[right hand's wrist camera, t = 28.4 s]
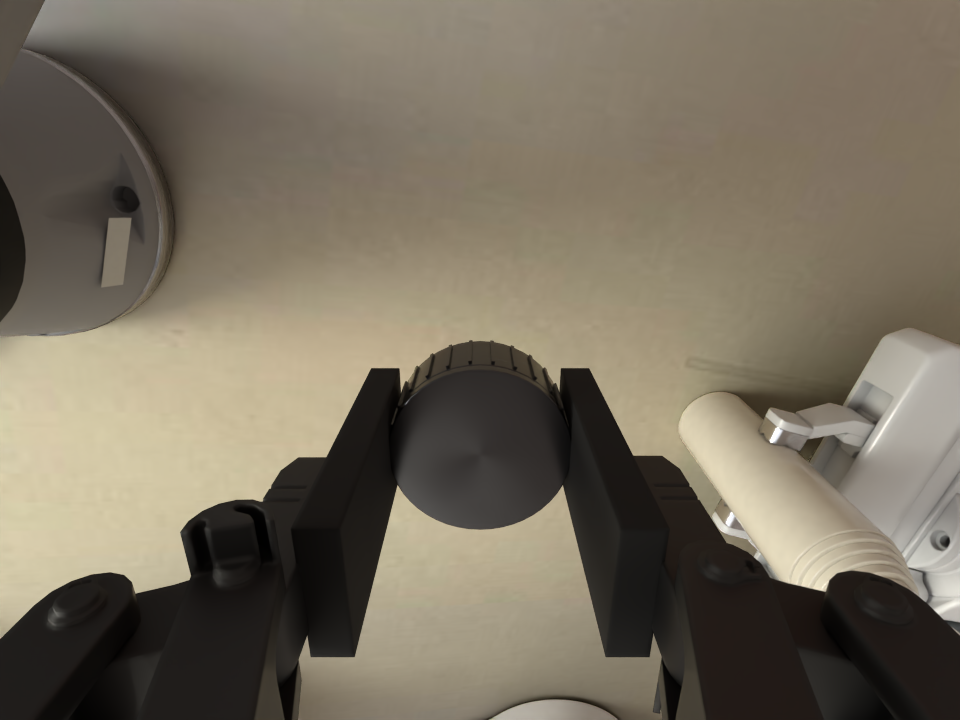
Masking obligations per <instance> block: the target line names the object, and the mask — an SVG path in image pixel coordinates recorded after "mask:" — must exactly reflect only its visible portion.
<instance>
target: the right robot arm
mask: <svg viewBox="0 0 960 720" xmlns="http://www.w3.org/2000/svg"><path fill="white" fill-rule="evenodd" d="M44 1H45V0H0V337H9V336H24V335H27V336H61V335H69V334H74V333H79V332H85V331H88V330H92V329H95V328H98V327H100V326H103V325H105V324H107V323H110V322H112V321H114V320H116V319H118V318H120V317H122V316H124V315H126V314H128V313H130V312H131V311H133V310H134V309H135V308H137V307H138V306H140V305H141V304H142V303H143V302H144V301H145V300H146V299H147V298H148V297H149V296H150V295H151V294H152V292H153V291H154V290H155V289H156V287H157V285H158V284H159V282H160V281H161V279H162V277H163V275H164V273H165V271H166V268H167V265H168V262H169V260H170V255H171V251H172V246H173V237H174V219H173V208H172V203H171V197H170V193H169V189H168V186H167V182H166V179H165V177H164V174H163V171H162V169H161V166H160V164H159V162H158V160H157V158H156V156H155V154H154V152H153V150H152V148H151V147H150V145H149V143H148V141H147V140H146V138H145V137H144V135H143V134H142V132H141V131H140V129H139V128H138V127H137V125H136V124H135V123H134V122H133V120H132V119H131V118H130V117H129V115H128V114H127V113H126V112H125V111H124V110H123V109H122V108H121V107H120V105H119V104H118V103H117V102H116V101H115V100H114V99H113V98H111V97H110V96H109V95H108V94H107V93H106V92H105V91H104V90H103V89H101V88H100V87H99V86H97V85H96V84H95V83H94V82H92V81H91V80H90V79H88V78H87V77H85V76H84V75H82V74H81V73H79V72H78V71H76V70H74V69H72V68H71V67H69V66H67V65H65V64H63V63H61V62H59V61H57V60H55V59H52V58H50V57H48V56H45V55H42V54H39V53H36V52H34V51H30V50H26V49H22V46H23V44H24V42H25V40H26V38H27V35H28V33H29V31H30V29H31V27H32V25H33V23H34V21H35V19H36V17H37V15H38V13H39V11H40V9H41V7H42V5H43V3H44ZM400 395H401V387H400V370H399V368H371V370H370V372H369V374H368V376H367V378H366V380H365V382H364V384H363V386H362V388H361V390H360V392H359V394H358V396H357V398H356V400H355V402H354V404H353V406H352V408H351V410H350V412H349V414H348V416H347V418H346V420H345V422H344V424H343V426H342V428H341V430H340V432H339V434H338V436H337V437H336V439H335V441H334V443H333V445H332V447H331V449H330V451H329V453H328V455H327V457H298V458H297V459H296V460H294V461H293V462H292V463H290V464H289V465H288V466H286V467H285V468H284V469H282V470H281V471H280V473H279V474H278V476H277V478H276V479H275V481H274V482H273V484H272V486H271V489H269V490H268V492H267V494H266V495H265V497H264V498H263V502H259V501H256V500H234V501H229V502H225V503H221V504H218V505H215V506H213V507H211V508H208V509H206V510H204V511H202V512H201V513H199V514H198V515H196V516H195V517H194V518H192V519H191V520H189V521H188V523H187V524H186V525H185V527H184V528H183V529H182V531H181V532H180V533H181V537H182V541H183V545H184V549H185V553H186V557H187V561H188V565H189V569H190V573H191V578H190V580H189V581H185V582H182V583H179V584H175V585H171V586H167V587H163V588H158V589H154V590H150V591H145V592H141V593H137V594H135V591H134V588H133V585H132V582H131V581H130V580H129V579H128V578H127V577H126V576H124V575H121V574H116V573H101V574H93V575H89V576H86V577H83V578H80V579H77V580H74V581H71V582H69V583H67V584H65V585H64V586H62V587H60V588H58V589H56V590H54V591H52V592H51V593H49V594H48V595H47V596H46V597H44V598H43V599H42V600H41V601H39V602H38V603H37V604H36V605H34V606H33V607H32V608H31V609H30V610H29V611H28V612H27V613H26V614H25V615H24V616H23V617H22V618H21V619H20V620H19V621H18V622H17V623H16V624H15V625H14V626H13V627H12V628H11V629H10V630H9V631H8V632H7V633H6V634H5V635H4V636H3V637H2V638H1V639H0V720H298V713H299V702H300V692H301V682H302V680H301V672H300V666H299V660H298V659H299V656H300V654H301V651H302V648H303V645H304V643H305V640H306V637H307V636H308V642H309V648H310V655H311V657H355V653H356V649H357V645H358V641H359V637H360V633H361V629H362V625H363V621H364V617H365V613H366V609H367V605H368V601H369V597H370V593H371V589H372V585H373V581H374V577H375V573H376V569H377V565H378V561H379V557H380V553H381V549H382V545H383V541H384V537H385V533H386V529H387V525H388V521H389V517H390V513H391V509H392V504H393V500H394V496H395V492H396V488H397V482H396V480H395V478H394V476H393V473H392V470H391V463H390V449H389V436H390V431H391V428H392V427H391V423H392V420H393V417H394V414H395V411H396V408H397V404H398V401H399V398H400ZM560 396H561V399H562V402H563V405H564V408H565V410H564V412H565V415H566V418H567V422H568V425H569V430H570V433H571V455H570V467H569V471H568V475H567V477H566V479H565V481H564V483H563V487H564V491H565V495H566V499H567V503H568V507H569V511H570V515H571V519H572V523H573V527H574V531H575V535H576V539H577V543H578V547H579V551H580V555H581V559H582V563H583V567H584V571H585V575H586V580H587V584H588V588H589V592H590V596H591V600H592V604H593V608H594V612H595V616H596V620H597V624H598V628H599V632H600V636H601V640H602V644H603V648H604V652H605V656H606V657H650V651H651V644H652V638H653V633H654V636H655V639H656V642H657V644H658V647H659V650H660V653H661V656H662V660H661V666H660V672H659V677H658V683H657V689H656V695H655V701H654V708H653V712H655V713H660V710H661V712H662V720H960V635H959V634H958V633H957V632H956V631H955V630H954V629H953V628H952V627H951V626H950V625H949V624H948V623H947V622H946V621H945V620H944V619H943V618H942V617H941V616H940V615H939V614H938V613H937V612H936V611H935V610H934V609H932V608H931V607H930V606H929V605H928V604H927V603H926V602H925V601H924V600H922V599H921V598H920V597H919V596H917V595H916V594H915V593H914V592H912V591H911V590H909V589H908V588H906V587H904V586H902V585H900V584H898V583H896V582H894V581H892V580H891V579H888V578H885V577H882V576H879V575H876V574H873V573H870V572H861V571H853V570H850V571H845V572H839V573H837V574H835V575H834V576H833V577H832V578H831V579H830V580H829V583H828V586H827V589H826V592H824V591H820V590H816V589H811V588H807V587H803V586H798V585H794V584H790V583H786V582H782V581H779V580H776V579H773V578H770V577H769V575H768V573H767V572H766V570H765V568H764V567H763V565H762V564H761V563H760V562H759V561H758V560H757V559H755V558H754V557H753V556H752V555H750V554H749V553H748V552H746V551H744V550H742V549H740V548H738V547H736V546H734V545H731V544H727V543H726V541H725V540H724V538H723V537H722V535H721V533H720V532H719V530H718V529H717V527H716V526H715V524H714V522H713V521H712V519H711V518H710V516H709V514H708V513H707V511H706V510H705V508H704V506H703V505H702V503H701V502H700V500H698V499H697V495H696V494H695V492H694V491H693V489H692V487H689V483H688V481H687V480H686V478H685V476H684V475H683V473H682V472H681V470H680V469H679V468H678V467H676V466H675V465H674V464H672V463H671V462H670V461H668V460H667V459H666V458H664V457H663V456H633V455H632V453H631V451H630V449H629V447H628V445H627V443H626V441H625V439H624V437H623V435H622V433H621V431H620V429H619V427H618V425H617V423H616V421H615V419H614V417H613V415H612V413H611V411H610V409H609V407H608V405H607V403H606V401H605V399H604V397H603V395H602V393H601V391H600V389H599V387H598V385H597V383H596V381H595V379H594V377H593V375H592V373H591V371H590V369H589V368H561V376H560Z"/></svg>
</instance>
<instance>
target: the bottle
mask: <svg viewBox="0 0 960 720" xmlns="http://www.w3.org/2000/svg"><path fill="white" fill-rule="evenodd" d="M762 422H763V419H762V418H761V417H760V416H759V415H758V414H757V413H756V412H755V411H754V410H753V409H752V408H751V407H749V406H748V405H747V404H746V403H745V402H744V401H743V400H742V399H741V398H739V397H738V396H736V395H734V394H731V393H727V392H713V393H708V394H705V395H703V396H701V397H699V398H697V399H696V400H694V401H693V402H692V403H690V404H689V405H688V407H687V408H686V409H685V410H684V412H683V414H682V415H681V418H680V421H679V428H678V429H679V435H680V438H681V440H682V442H683V444H684V445H685V446H686V448H687V449H688V451H689V452H690V454H691V455H692V456H693V458H694V459H695V461H696V462H697V463H698V465H699V466H700V468H701V469H702V471H703V472H704V473H705V475H706V476H707V478H708V479H709V481H710V482H711V483H712V485H713V486H714V488H715V489H716V490H717V492H718V493H719V495H720V496H721V498H722V499H723V500H724V502H725V503H726V505H727V506H728V508H729V509H730V510H731V512H732V513H733V515H734V516H735V518H736V519H737V520H738V522H739V523H740V525H741V526H742V527H743V529H744V530H745V532H746V533H747V535H748V536H749V537H750V539H751V540H752V542H753V543H754V545H755V546H756V547H757V549H758V550H759V552H760V553H761V555H762V556H763V557H764V559H765V560H766V562H767V563H768V564H769V566H770V567H771V569H772V570H773V572H774V573H775V574H776V576H777V577H778V579H779V580H780V581H782V582H786V583H790V584H794V585H798V586H803V587H807V588H811V589H816V590H820V591H824V592H826V589H827V586H828V583H829V580H830V579H831V578H832V577H833V576H834V575H835V574H837V573H839V572H845V571H850V570H853V571H861V572H870V573H873V574H876V575H879V576H882V577H885V578H888V579H891V580H892V581H894V582H896V583H898V584H900V585H902V586H904V587H906V588H908V589H909V590H911V591H912V592H914V593H915V594H916V595H917V596H919V592H918V588H917V586H916V584H915V583H914V580H913V577H912V575H911V574H910V571H909V568H908V566H907V564H906V562H905V559H904V557H903V555H902V553H901V552H900V551H899V550H898V548H897V546H896V545H895V544H894V542H893V541H892V540H891V539H890V538H889V537H888V536H886V535H885V534H884V533H883V532H882V531H881V530H880V529H879V528H878V527H877V526H876V525H875V524H874V523H873V522H872V521H871V520H869V519H868V518H867V517H866V516H865V515H864V514H863V513H862V512H861V511H860V510H859V509H858V508H857V507H856V506H855V505H854V504H852V503H851V502H850V501H849V500H848V499H847V498H846V497H845V496H844V495H843V494H842V493H841V492H840V491H839V490H838V489H837V488H835V487H834V486H833V485H832V484H831V483H830V482H829V481H828V480H827V479H826V478H825V477H824V476H823V475H822V474H821V473H820V472H818V471H817V470H816V469H815V468H814V467H813V466H812V465H811V464H810V463H809V462H808V461H807V460H806V459H805V458H804V457H803V456H801V455H800V454H799V453H798V452H797V451H796V450H793V449H790V448H788V447H787V446H777V445H775V444H773V443H771V442H769V441H768V440H766V439H765V437H764V435H763V434H760V432H759V431H758V430H759V428H760V426H761V424H762ZM919 597H920V596H919ZM920 598H921V597H920ZM921 599H922V598H921ZM922 600H923V599H922ZM953 629H954V628H953ZM954 630H955V629H954ZM955 631H956V630H955ZM956 632H957V633H958V634H959V635H960V633H959V632H958V631H956Z"/></svg>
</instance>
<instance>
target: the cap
mask: <svg viewBox="0 0 960 720" xmlns="http://www.w3.org/2000/svg"><path fill="white" fill-rule="evenodd" d="M564 410H565V408H564V405H563V402H562V399H561V396H560V393H559V390H558V387H557V384H556V383H555V384H554V383H553V381H552V380H551V378H550V377H549V375H548V372H547V369H546V368H545V367H544V368H542V367H541V365H540V364H538V363H537V362H536V361H535V360H534V359H533V358H532V356H531V355H529V356H528V355H527V354H525V353H523V352H522V351H519V350H517V349H515V348H514V346H512V345H511V347H510V346H507V345H504V344H500V343H495V342H494V341H490V342H485V341H476V342H473V341H472V340H470V341H469V342H466V343H461V344H457V345H453V346H452V345H449V347H447V348H445V349H443V350H441V351H439V352H437V353H435V354H433V353H432V354H431V355H430V357H429V358H428V359H427V360H425V361H424V362H423V363H422V364H421V365H420V366H419V367H418V366H416V367H415V370H414V373H413V374H412V376H411V377H410V379H409V380H408V382H407V381H405V383H404V386H403V389H402V392H401V395H400V398H399V401H398V404H397V408H396V411H395V414H394V417H393V420H392V423H391V427H392V428H391V431H390V436H389V449H390V463H391V470H392V473H393V476H394V478H395V480H396V482H397V484H398V486H399V488H400V489H401V491H402V492H403V494H404V495H405V496H406V497H407V498H408V499H409V501H410V502H411V503H413V504H414V505H415V506H416V507H417V508H418V509H420V510H421V511H422V512H424V513H425V514H427V515H428V516H430V517H432V518H434V519H436V520H438V521H440V522H443V523H445V524H448V525H452V526H456V527H460V528H466V529H479V530H480V529H494V528H500V527H505V526H508V525H512V524H515V523H517V522H520V521H523V520H525V519H527V518H528V517H530V516H532V515H534V514H535V513H537V512H538V511H540V510H541V509H542V508H543V507H545V506H546V505H547V504H548V503H549V502H550V501H551V500H552V499H553V498H554V496H555V495H556V494H557V493H558V491H559V490H560V488H561V487H562V485H563V483H564V481H565V479H566V477H567V475H568V471H569V467H570V455H571V433H570V430H569V425H568V422H567V418H566V415H565V412H564Z"/></svg>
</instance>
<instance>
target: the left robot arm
mask: <svg viewBox="0 0 960 720" xmlns="http://www.w3.org/2000/svg"><path fill="white" fill-rule="evenodd" d="M758 431H759V432H760V434H763V435H764V437H765V439H766V440H768V441H769V442H771V443H773V444H775V445H777V446H787V447H788V448H790V449H793V450H797V451H801V449H802V448H803V446H804V444H805V443H806V441H807V439H813V438H819V437H824V438H823V440H822V441H821V443H820V445H819V446H818V448H817V450H816V452H815V453H814V455H813V457H812V458H811V460H810V462H809V463H810V464H811V465H812V466H813V467H814V468H815V469H816V470H817V471H818V472H820V473H821V474H822V475H823V476H824V477H825V478H826V479H827V480H828V481H829V482H830V483H831V484H832V485H833V486H834V487H835V488H837V489H838V490H839V491H840V492H841V493H842V494H843V495H844V496H845V497H846V498H847V499H848V500H849V501H850V502H851V503H852V504H854V505H855V506H856V507H857V508H858V509H859V510H860V511H861V512H862V513H863V514H864V515H865V516H866V517H867V518H868V519H869V520H871V521H872V522H873V523H874V524H875V525H876V526H877V527H878V528H879V529H880V530H881V531H882V532H883V533H884V534H885V535H886V536H888V537H889V538H890V539H891V540H892V541H893V542H894V544H895V545H896V546H897V548H898V550H899V551H900V552H901V553H902V555H903V557H904V559H905V562H906V564H907V566H908V568H909V571H910V574H911V575H912V577H913V580H914V583H915V584H916V586H917V588H918V592H919V596H920V597H921V598H922V599H923V600H924V601H925V602H926V603H927V604H928V605H929V606H930V607H931V608H932V609H934V610H935V611H936V612H937V613H938V614H939V615H940V616H941V617H942V618H943V619H944V620H945V621H946V622H947V623H948V624H949V625H950V626H951V627H952V628H954V629H955V630H956V631H958V632H959V633H960V345H958V344H955V343H953V342H950V341H947V340H945V339H942V338H939V337H937V336H934V335H931V334H929V333H926V332H923V331H921V330H918V329H914V328H904V329H901V330H898V331H895V332H892V333H890V334H887V335H885V336H884V337H883V338H882V339H881V341H880V342H879V344H878V346H877V347H876V349H875V351H874V353H873V354H872V356H871V358H870V359H869V361H868V363H867V365H866V366H865V368H864V370H863V371H862V373H861V375H860V377H859V378H858V380H857V382H856V383H855V385H854V387H853V388H852V390H851V392H850V394H849V395H848V397H847V399H846V400H845V402H844V404H843V406H841V405H837V404H833V403H827V404H823V405H819V406H816V407H812V408H808V409H804V410H801V411H797V412H796V413H791V412H787V411H783V410H780V409H776V408H769V410H768V412H767V414H766V416H765V418H764V420H763V422H762V424H761V426H760V428H759V430H758ZM712 519H713V520H714V522H715V523H716V525H717V526H718V528H719V529H720V530H721V531H722V532H723V533H725V534H728V535H731V536H736V537H740V538H744V539H748V541H749V542H750V543H751V544H752V545H753V546H754V547H755V548H756V549H757V547H756V546H755V545H754V543H753V542H752V540H751V539H750V537H749V536H748V535H747V533H746V532H745V530H744V529H743V527H742V526H741V525H740V523H739V522H738V520H737V519H736V518H735V516H734V515H733V513H732V512H731V510H730V509H729V508H728V506H727V505H726V503H725V502H724V500H723V499H721V500H720V502H719V504H718V506H717V507H716V509H715V512H714V514H713V515H712ZM754 558H755V559H757V560H758V561H759V562H760V563H761V564H762V565H763V567H764V568H765V570H766V572H767V573H768V575H769V577H770V578H773V579H776V580H779V579H778V577H777V576H776V574H775V573H774V572H773V570H772V569H771V567H770V566H769V564H768V563H767V562H766V560H765V559H764V557H763V556H762V555H761V553H760V552H759V550H758V549H757V552H756V554H755V556H754ZM779 581H780V580H779ZM490 720H618V719H617V718H615V717H614V716H613V715H611V714H610V713H608V712H607V711H605V710H603V709H601V708H598V707H596V706H593V705H590V704H587V703H583V702H578V701H572V700H558V699H553V700H540V701H534V702H529V703H525V704H521V705H518V706H515V707H513V708H510V709H508V710H506V711H504V712H502V713H500V714H498V715H497V716H495V717H493V718H491V719H490Z"/></svg>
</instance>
